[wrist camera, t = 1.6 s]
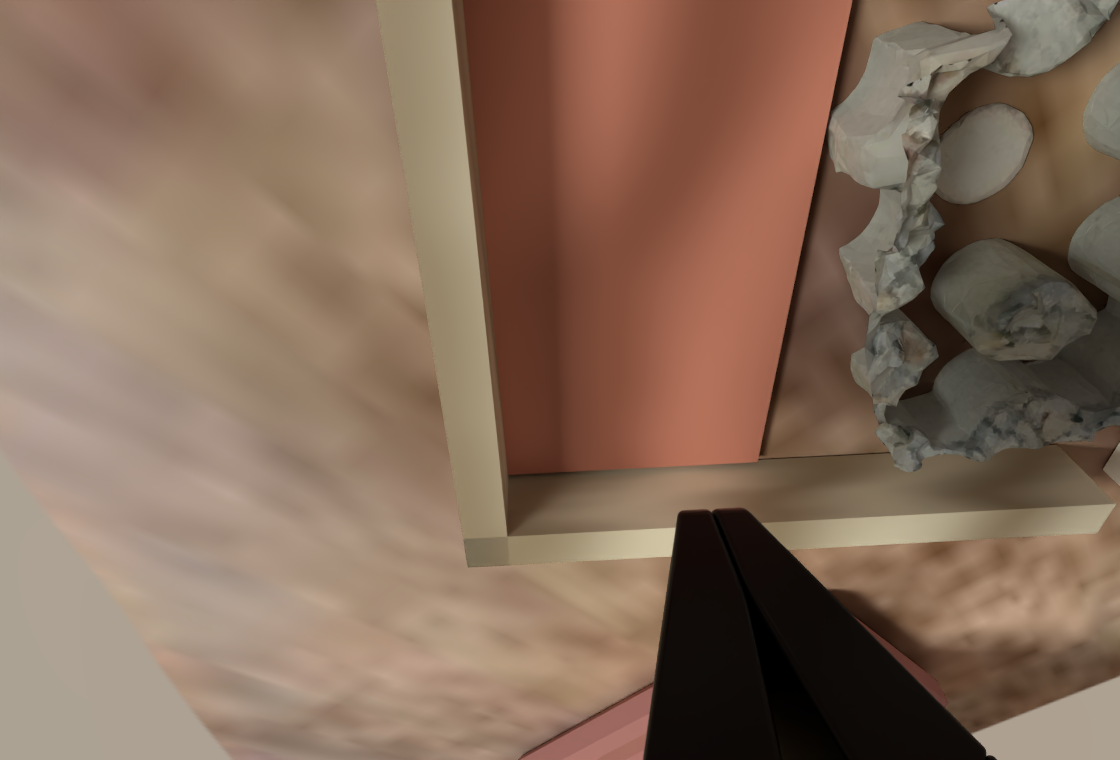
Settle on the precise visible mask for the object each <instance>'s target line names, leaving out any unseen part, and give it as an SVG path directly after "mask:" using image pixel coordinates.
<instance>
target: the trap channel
mask: <svg viewBox="0 0 1120 760" xmlns="http://www.w3.org/2000/svg"><path fill="white" fill-rule="evenodd" d="M851 5H852V0H376V6H377V12H378V18H379V24H380V31H381V37H382V43H383V49H384V55H385V61H386V68H387V74H388V80H389V86H390V92H391V98H392V104H393V111H394V117H395V123H396V129H397V135H398V141H399V147H400V154H401V160H402V166H403V172H404V178H405V184H406V191H407V197H408V203H409V209H410V215H411V221H412V227H413V234H414V240H415V246H416V252H417V258H418V264H419V270H420V277H421V283H422V289H423V295H424V301H425V307H426V313H427V320H428V326H429V332H430V338H431V344H432V350H433V357H434V363H435V369H436V375H437V381H438V387H439V393H440V400H441V406H442V412H443V418H444V424H445V430H446V436H447V443H448V449H449V455H450V461H451V467H452V473H453V480H454V486H455V492H456V498H457V504H458V510H459V516H460V523H461V529H462V535H463V541H464V547H465V553H466V559H467V566H468V567H486V566H504V565H523V564H541V563H559V562H577V561H595V560H614V559H632V558H650V557H668V556H672V550H673V543H674V536H675V529H676V522H677V515H678V513H679V512H680V511H682V510H697V509H708V510H709V511H711V512H712V511H713V510H714V509H717V508H737V507H741V508H745V509H746V510H748V511H749V512H750V513H751V514H752V515H753V516H754V517H755V518H756V519H757V520H758V521H759V522H760V523H761V524H762V525H763V526H764V527H765V528H766V529H767V530H768V531H769V532H770V533H771V534H772V535H773V536H774V537H775V538H776V539H777V540H778V541H779V542H780V543H781V544H782V545H783V546H784V547H785V548H786V549H787V550H795V549H814V548H832V547H850V546H868V545H886V544H905V543H923V542H941V541H959V540H977V539H996V538H1014V537H1032V536H1050V535H1068V534H1087V533H1097V532H1098V531H1099V529H1100V528H1101V526H1102V525H1103V523H1104V522H1105V520H1106V519H1107V517H1108V516H1109V514H1110V513H1111V511H1112V510H1113V508H1114V507H1115V505H1116V503H1115V502H1114V501H1113V500H1112V499H1111V498H1110V497H1109V496H1108V495H1107V494H1106V493H1105V492H1104V491H1103V490H1102V489H1101V488H1100V487H1099V486H1098V485H1097V484H1096V483H1095V482H1094V481H1093V480H1092V479H1091V478H1090V477H1089V476H1088V475H1087V474H1086V473H1085V472H1084V471H1083V470H1082V469H1081V468H1080V467H1079V466H1078V465H1077V464H1076V463H1075V462H1074V461H1073V460H1072V459H1071V458H1070V457H1069V456H1068V455H1067V454H1066V453H1065V452H1064V451H1063V450H1062V449H1061V448H1060V447H1059V446H1058V445H1046V446H1043V447H1041V448H1040V449H1029V448H1007V449H1003V450H1001V451H1000V452H998V453H997V454H995V455H994V456H993V457H992V458H991V459H990V460H989V462H976V461H973V460H971V459H968V458H966V457H964V456H962V455H955V454H942V455H937V456H932V457H927V458H925V459H923V460H922V467H921V469H919V470H917V471H913V472H906V471H903V470H900V469H898V468H896V467H895V466H894V464H895V462H894V460H893V458H892V456H891V453H884V454H864V455H845V456H825V457H806V458H786V459H767V460H758V457H759V453H760V448H761V443H762V438H763V433H764V428H765V423H766V418H767V414H768V409H769V404H770V399H771V394H772V389H773V384H774V380H775V375H776V370H777V365H778V360H779V355H780V350H781V345H782V341H783V336H784V331H785V326H786V321H787V316H788V311H789V307H790V302H791V297H792V292H793V287H794V282H795V277H796V272H797V268H798V263H799V258H800V253H801V248H802V243H803V238H804V234H805V229H806V224H807V219H808V214H809V209H810V204H811V199H812V195H813V190H814V185H815V180H816V175H817V170H818V165H819V161H820V156H821V151H822V146H823V141H824V136H825V131H826V127H827V122H828V117H829V112H830V107H831V102H832V97H833V92H834V88H835V83H836V78H837V73H838V68H839V63H840V58H841V54H842V49H843V44H844V39H845V34H846V29H847V24H848V19H849V15H850V10H851Z"/></svg>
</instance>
